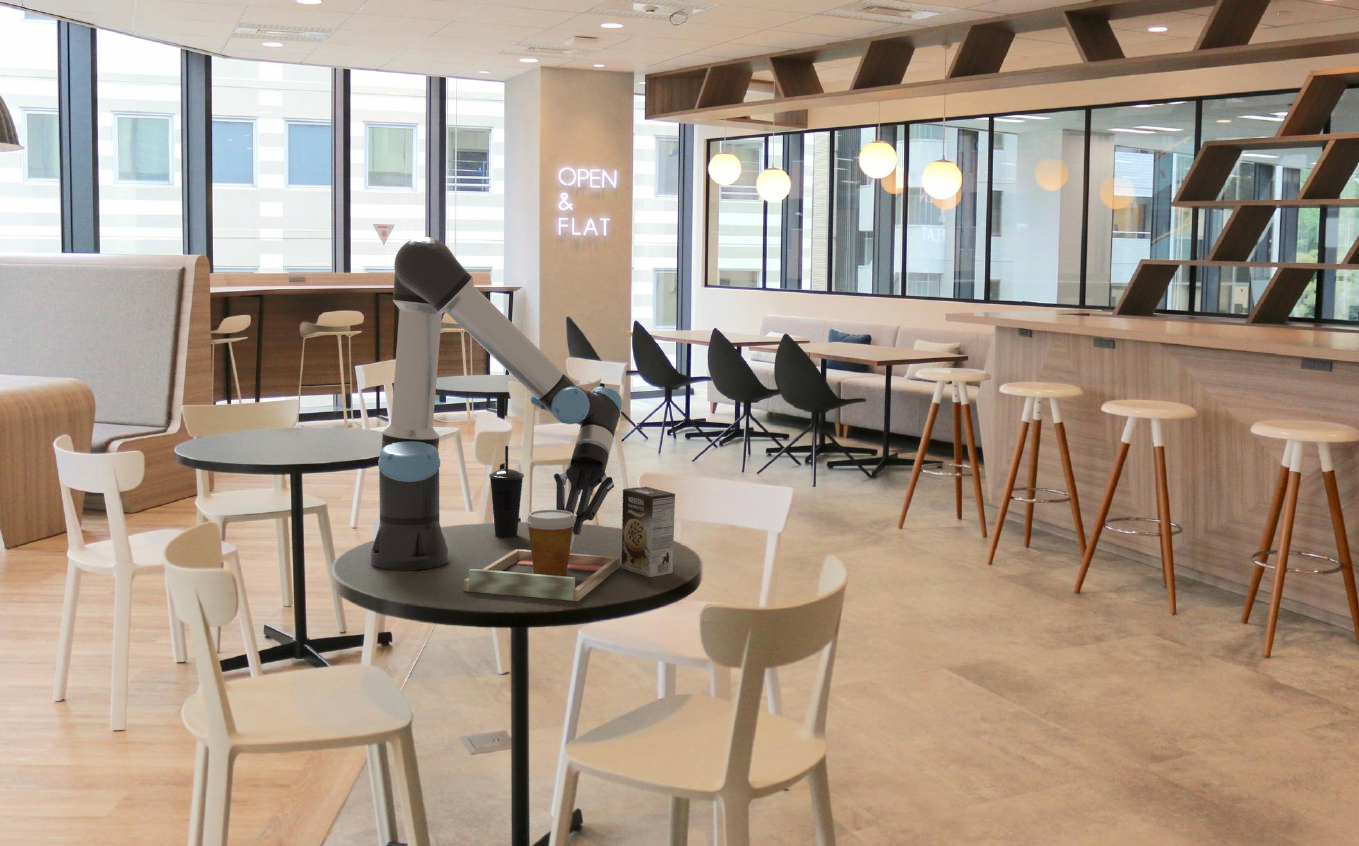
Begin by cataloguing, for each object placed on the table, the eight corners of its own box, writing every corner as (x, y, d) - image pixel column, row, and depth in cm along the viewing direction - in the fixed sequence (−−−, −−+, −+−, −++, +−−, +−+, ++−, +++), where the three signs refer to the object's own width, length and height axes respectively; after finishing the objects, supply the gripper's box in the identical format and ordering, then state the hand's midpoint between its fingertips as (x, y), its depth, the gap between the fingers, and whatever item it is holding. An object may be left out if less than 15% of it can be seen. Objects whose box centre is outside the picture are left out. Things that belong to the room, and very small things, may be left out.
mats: (516, 564, 236) (516, 563, 236) (523, 560, 240) (523, 559, 240) (603, 571, 232) (603, 570, 232) (608, 567, 236) (608, 566, 235)
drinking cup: (530, 534, 264) (531, 445, 261) (508, 540, 257) (508, 449, 255) (504, 529, 268) (504, 442, 265) (481, 535, 261) (481, 446, 259)
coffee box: (619, 568, 235) (621, 488, 233) (644, 564, 239) (646, 485, 237) (649, 578, 228) (650, 495, 226) (674, 573, 232) (676, 492, 230)
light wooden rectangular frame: (463, 590, 216) (463, 569, 215) (515, 558, 241) (515, 539, 241) (578, 601, 211) (578, 579, 210) (619, 567, 236) (619, 547, 236)
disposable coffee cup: (576, 569, 234) (576, 509, 232) (573, 581, 224) (574, 519, 223) (527, 568, 233) (528, 508, 232) (523, 580, 224) (523, 518, 223)
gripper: (624, 464, 252) (601, 558, 238) (566, 460, 254) (539, 553, 240) (618, 442, 246) (593, 538, 232) (558, 439, 249) (530, 533, 235)
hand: (566, 546), depth 236 cm, fingers closed
